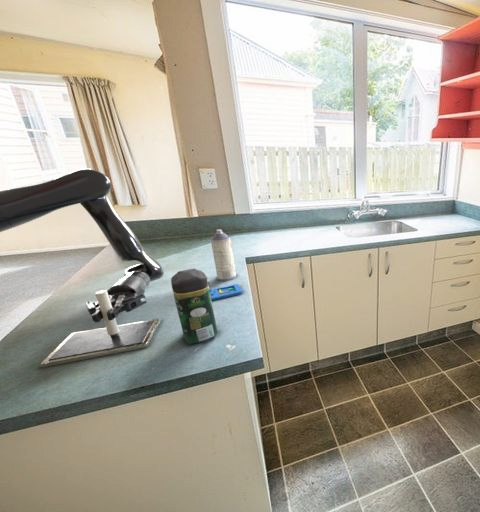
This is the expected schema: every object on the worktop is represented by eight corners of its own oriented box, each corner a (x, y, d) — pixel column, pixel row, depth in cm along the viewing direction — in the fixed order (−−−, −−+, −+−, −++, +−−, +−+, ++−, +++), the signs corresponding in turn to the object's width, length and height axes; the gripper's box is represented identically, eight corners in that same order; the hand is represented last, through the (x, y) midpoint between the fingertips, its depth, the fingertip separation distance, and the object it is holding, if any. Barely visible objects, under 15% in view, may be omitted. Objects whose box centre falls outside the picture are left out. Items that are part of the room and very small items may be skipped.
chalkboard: (41, 367, 68) (39, 363, 68) (72, 336, 81) (71, 332, 80) (147, 347, 76) (145, 343, 76) (160, 321, 88) (159, 317, 88)
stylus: (107, 339, 77) (93, 294, 73) (111, 334, 79) (97, 290, 75) (118, 337, 78) (104, 292, 74) (121, 333, 80) (108, 289, 76)
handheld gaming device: (191, 292, 104) (237, 282, 113) (192, 295, 105) (237, 285, 113) (194, 301, 98) (242, 290, 107) (194, 304, 98) (242, 293, 107)
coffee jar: (182, 332, 83) (167, 270, 77) (213, 323, 88) (202, 264, 82) (186, 348, 76) (170, 282, 70) (220, 338, 80) (208, 274, 75)
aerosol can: (239, 276, 122) (232, 229, 116) (223, 281, 117) (215, 232, 111) (230, 273, 126) (222, 227, 120) (214, 278, 120) (205, 230, 114)
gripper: (94, 283, 85) (60, 309, 70) (152, 276, 90) (133, 299, 75) (101, 306, 87) (70, 337, 72) (158, 298, 93) (140, 325, 78)
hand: (102, 317), depth 74 cm, fingers closed on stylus, 2 cm apart
